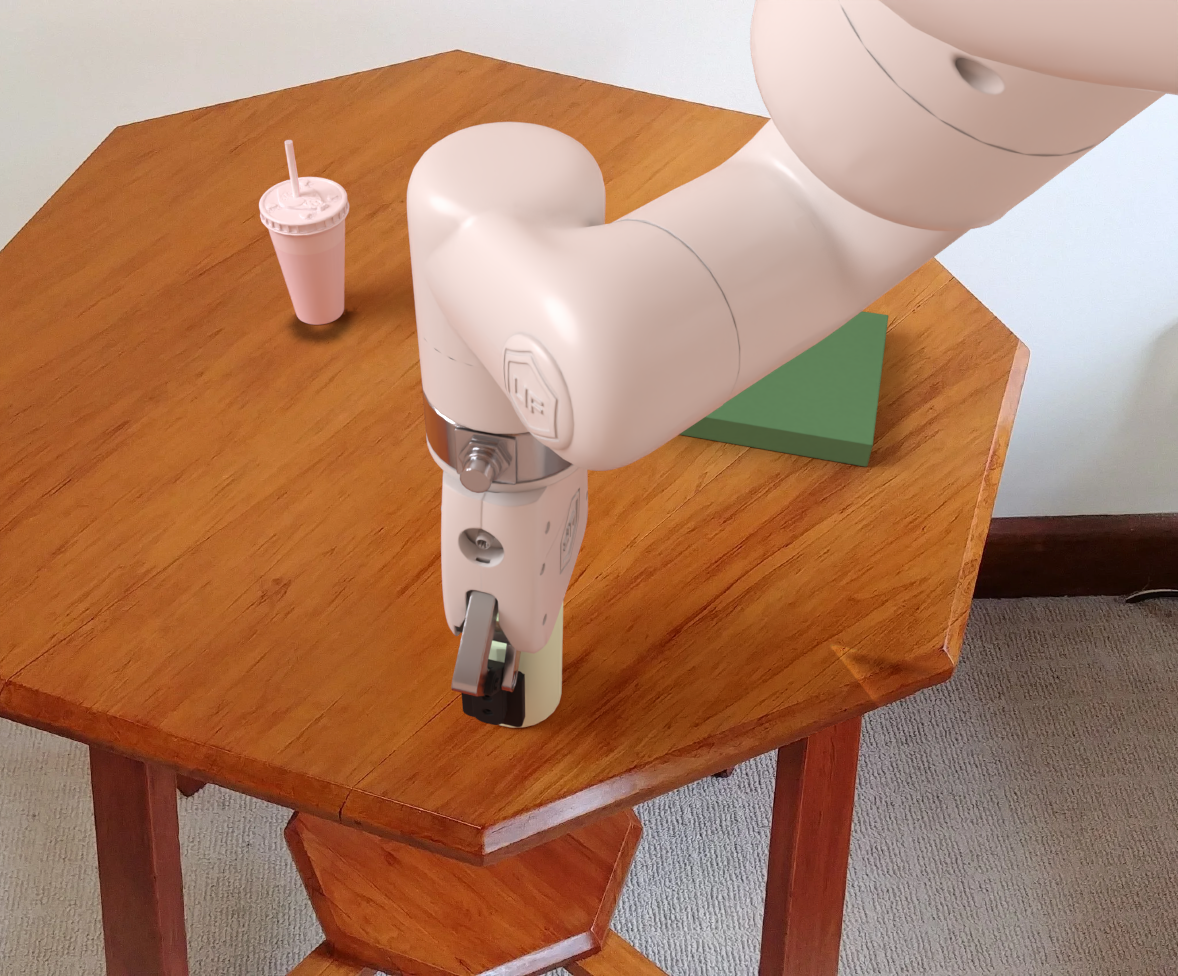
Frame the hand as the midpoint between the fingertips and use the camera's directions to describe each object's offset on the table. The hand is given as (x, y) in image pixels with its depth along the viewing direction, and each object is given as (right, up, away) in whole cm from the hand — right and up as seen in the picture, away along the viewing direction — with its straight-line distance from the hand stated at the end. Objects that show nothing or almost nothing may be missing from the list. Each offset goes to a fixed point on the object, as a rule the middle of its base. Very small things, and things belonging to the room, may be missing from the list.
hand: (515, 655), depth 66 cm
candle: (0, -2, +2) cm, 3 cm away
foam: (+16, +17, +21) cm, 31 cm away
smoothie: (-14, +22, +28) cm, 39 cm away
